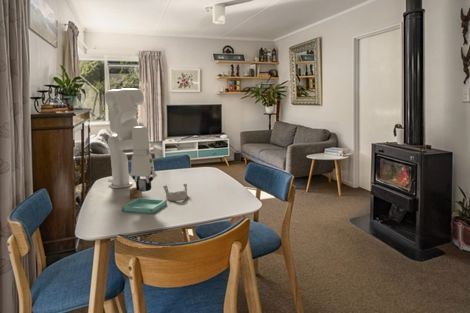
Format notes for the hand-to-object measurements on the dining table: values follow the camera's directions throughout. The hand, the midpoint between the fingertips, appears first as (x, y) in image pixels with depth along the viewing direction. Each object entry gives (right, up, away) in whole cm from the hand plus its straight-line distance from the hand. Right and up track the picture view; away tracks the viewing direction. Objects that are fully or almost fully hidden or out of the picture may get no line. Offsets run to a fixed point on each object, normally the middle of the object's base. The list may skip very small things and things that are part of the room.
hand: (143, 189), depth 157 cm
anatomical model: (+13, -7, +16) cm, 22 cm away
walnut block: (-10, -6, +19) cm, 22 cm away
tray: (0, -9, +2) cm, 9 cm away
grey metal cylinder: (0, 0, 0) cm, 0 cm away
